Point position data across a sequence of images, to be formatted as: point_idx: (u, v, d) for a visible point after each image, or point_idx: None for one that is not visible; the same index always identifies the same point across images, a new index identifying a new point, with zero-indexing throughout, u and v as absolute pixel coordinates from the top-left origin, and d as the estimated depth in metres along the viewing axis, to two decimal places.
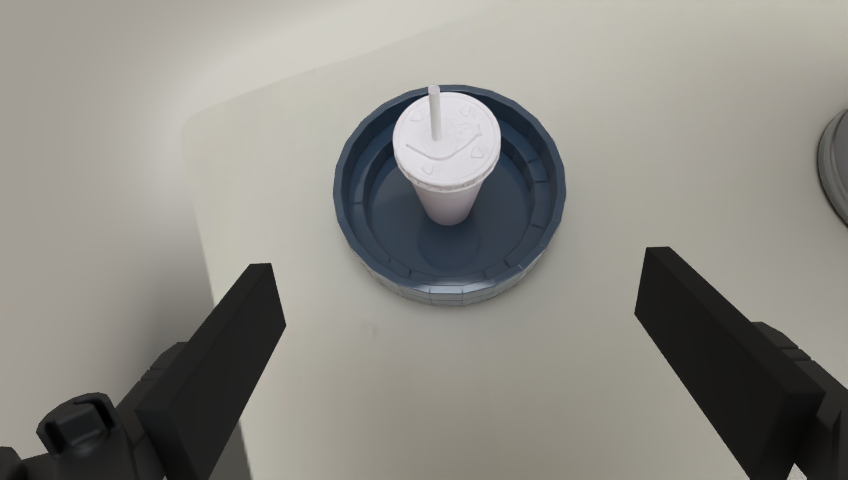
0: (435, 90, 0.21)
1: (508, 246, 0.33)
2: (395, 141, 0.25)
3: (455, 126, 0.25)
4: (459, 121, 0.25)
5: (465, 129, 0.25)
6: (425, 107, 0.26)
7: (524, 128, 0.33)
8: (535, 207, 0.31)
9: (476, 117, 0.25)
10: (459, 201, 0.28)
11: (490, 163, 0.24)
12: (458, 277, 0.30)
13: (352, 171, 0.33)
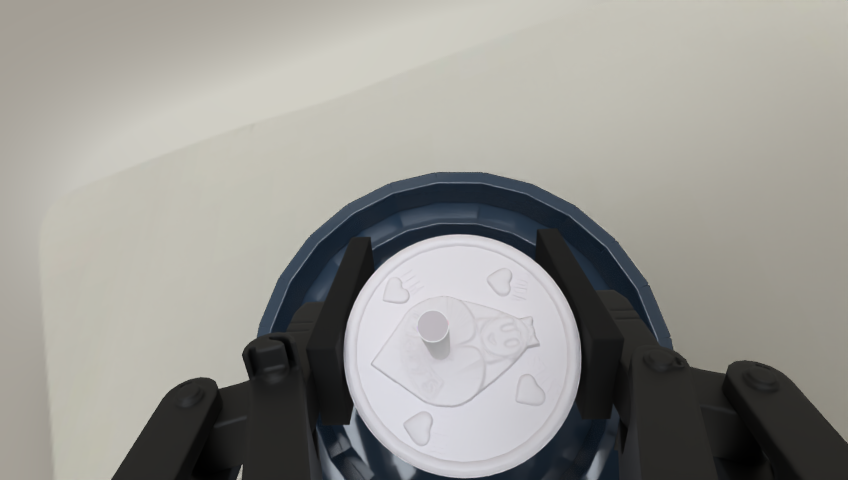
0: (438, 326, 0.07)
1: (560, 450, 0.19)
2: (349, 352, 0.12)
3: (480, 323, 0.11)
4: (489, 307, 0.12)
5: (502, 332, 0.11)
6: (416, 269, 0.12)
7: (589, 249, 0.19)
8: None
9: (525, 296, 0.12)
10: None
11: (561, 421, 0.11)
12: None
13: None
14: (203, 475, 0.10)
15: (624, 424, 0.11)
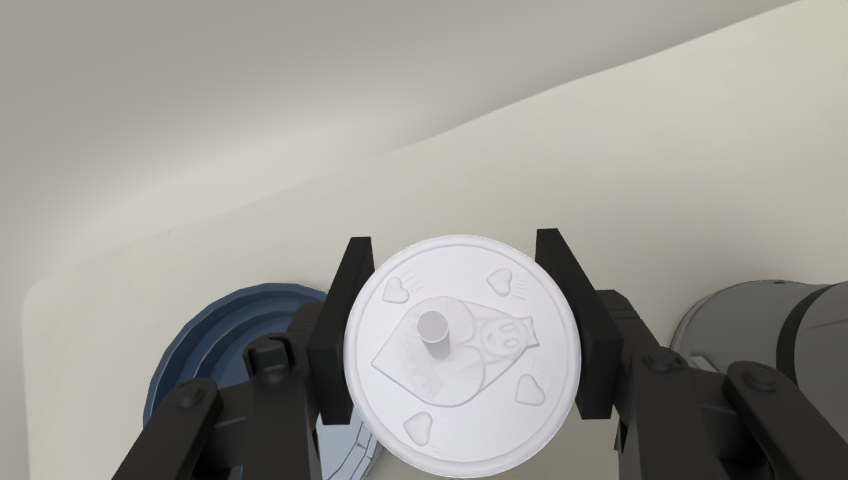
0: (438, 327, 0.07)
1: (340, 454, 0.31)
2: (348, 352, 0.12)
3: (480, 323, 0.11)
4: (488, 307, 0.12)
5: (502, 332, 0.11)
6: (416, 268, 0.12)
7: None
8: (362, 422, 0.30)
9: (524, 296, 0.12)
10: None
11: (561, 421, 0.11)
12: None
13: (179, 373, 0.32)
14: (203, 475, 0.10)
15: (625, 424, 0.11)
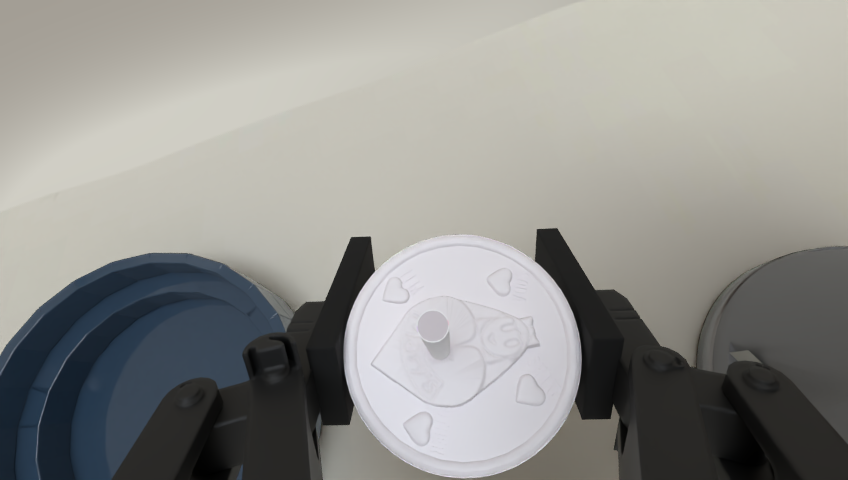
0: (438, 326, 0.07)
1: None
2: (348, 352, 0.12)
3: (480, 323, 0.11)
4: (489, 307, 0.12)
5: (502, 332, 0.11)
6: (416, 269, 0.12)
7: None
8: None
9: (525, 296, 0.12)
10: None
11: (561, 421, 0.11)
12: None
13: (34, 374, 0.23)
14: (203, 475, 0.10)
15: (624, 424, 0.11)
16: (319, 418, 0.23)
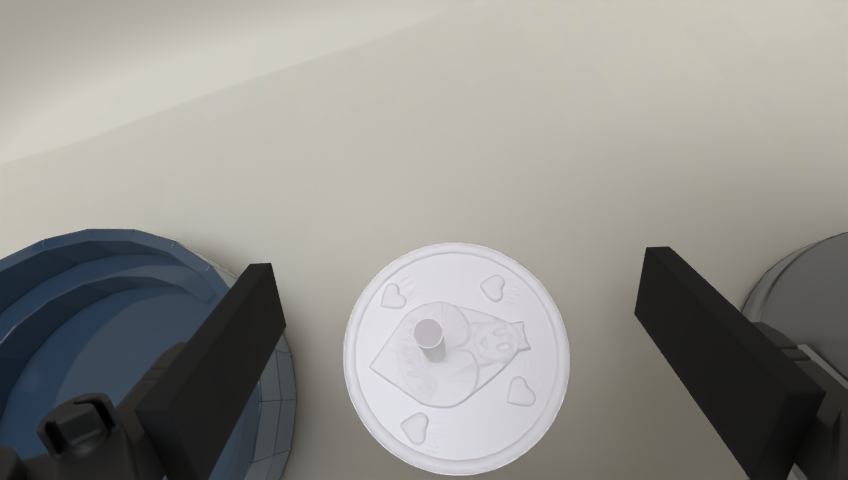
0: (433, 333, 0.08)
1: None
2: (348, 355, 0.12)
3: (474, 328, 0.12)
4: (482, 312, 0.12)
5: (495, 336, 0.12)
6: (412, 275, 0.13)
7: None
8: (233, 455, 0.18)
9: (516, 302, 0.12)
10: None
11: (550, 421, 0.11)
12: None
13: None
14: None
15: None
16: (290, 425, 0.20)
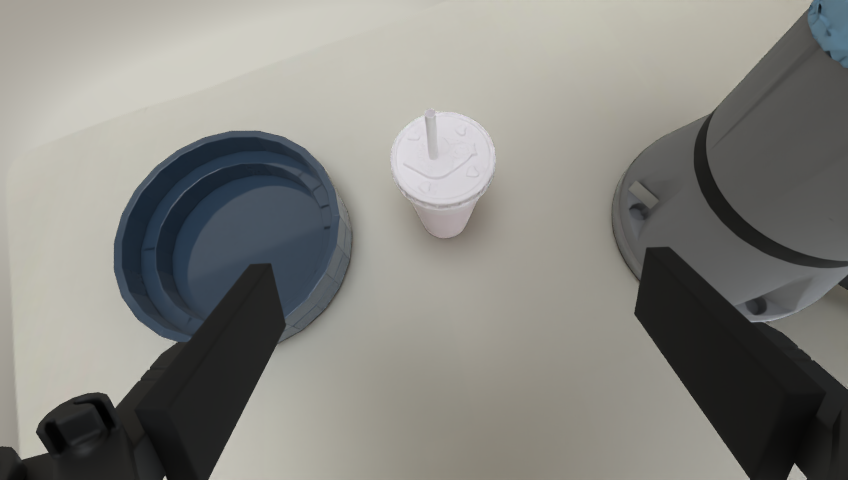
0: (431, 114, 0.22)
1: None
2: (392, 160, 0.26)
3: (451, 145, 0.26)
4: (455, 140, 0.26)
5: (461, 148, 0.26)
6: (422, 126, 0.27)
7: (316, 174, 0.33)
8: (320, 253, 0.32)
9: (471, 136, 0.26)
10: (455, 217, 0.29)
11: (485, 182, 0.25)
12: None
13: (150, 216, 0.34)
14: None
15: None
16: (349, 246, 0.34)
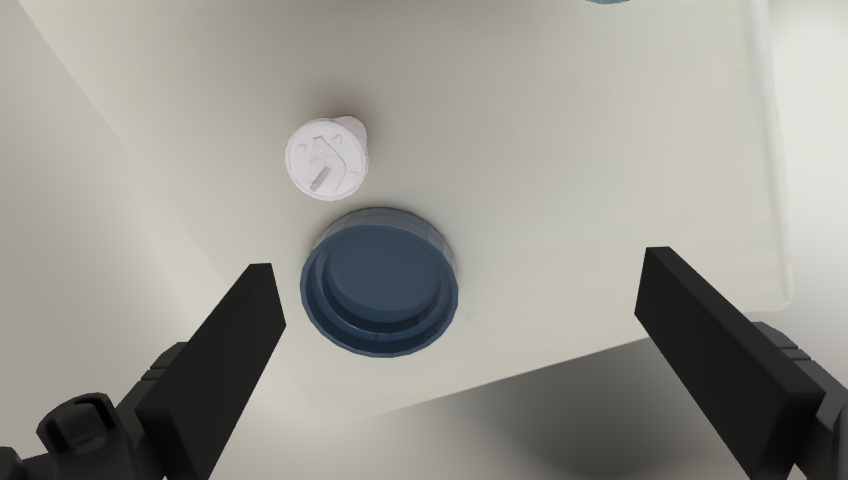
0: (313, 186, 0.30)
1: None
2: (332, 198, 0.35)
3: (317, 156, 0.33)
4: (311, 152, 0.33)
5: (318, 148, 0.33)
6: (301, 178, 0.34)
7: None
8: (390, 231, 0.44)
9: (305, 139, 0.33)
10: (363, 140, 0.36)
11: (345, 129, 0.32)
12: (442, 279, 0.46)
13: (369, 341, 0.49)
14: None
15: None
16: (380, 209, 0.44)
